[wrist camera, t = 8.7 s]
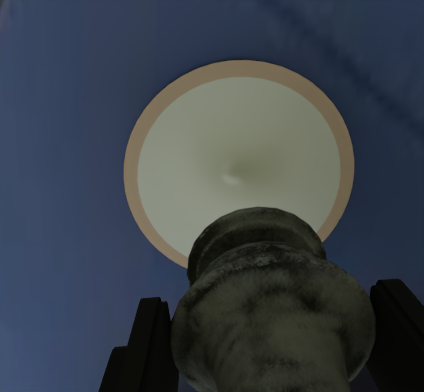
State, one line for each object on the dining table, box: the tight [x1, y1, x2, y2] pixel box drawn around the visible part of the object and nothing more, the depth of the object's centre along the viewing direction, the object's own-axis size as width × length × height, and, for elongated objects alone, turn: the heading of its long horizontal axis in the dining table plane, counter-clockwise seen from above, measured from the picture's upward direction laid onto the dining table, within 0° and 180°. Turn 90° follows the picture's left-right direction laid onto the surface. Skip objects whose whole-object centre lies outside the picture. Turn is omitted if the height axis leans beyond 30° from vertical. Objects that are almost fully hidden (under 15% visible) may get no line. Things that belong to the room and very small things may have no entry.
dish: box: [124, 60, 354, 268], centre depth 23 cm, size 15×15×2 cm
